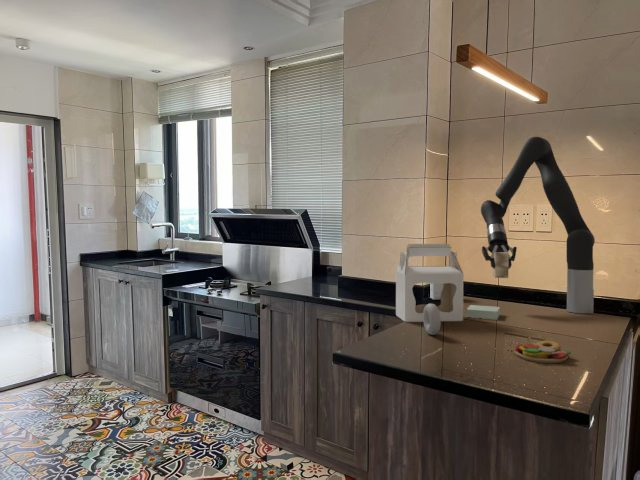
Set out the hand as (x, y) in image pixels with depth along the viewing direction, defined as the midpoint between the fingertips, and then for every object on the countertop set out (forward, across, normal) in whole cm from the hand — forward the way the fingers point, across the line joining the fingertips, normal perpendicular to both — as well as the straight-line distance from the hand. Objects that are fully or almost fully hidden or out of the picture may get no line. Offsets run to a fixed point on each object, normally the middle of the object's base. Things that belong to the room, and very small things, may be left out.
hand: (501, 267), depth 190 cm
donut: (+45, -29, -20) cm, 57 cm away
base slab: (+20, -8, +6) cm, 23 cm away
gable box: (+26, -29, 0) cm, 39 cm away
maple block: (+2, 0, +4) cm, 5 cm away
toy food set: (+60, -1, -34) cm, 69 cm away
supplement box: (-10, -22, +36) cm, 44 cm away
